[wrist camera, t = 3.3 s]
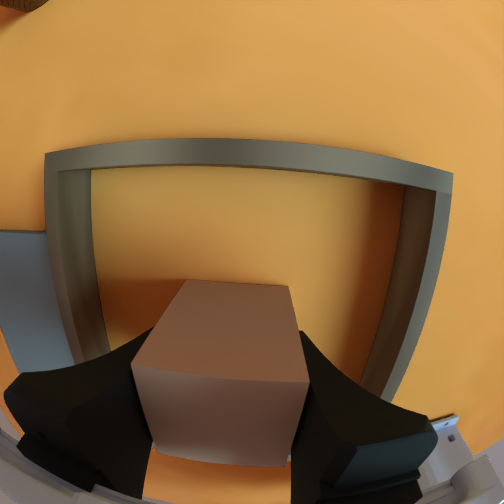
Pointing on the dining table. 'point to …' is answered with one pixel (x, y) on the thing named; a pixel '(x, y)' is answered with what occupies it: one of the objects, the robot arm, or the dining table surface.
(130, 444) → the robot arm
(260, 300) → the block
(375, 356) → the grey square frame
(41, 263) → the mat
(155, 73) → the dining table surface
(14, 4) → the disposable coffee cup
